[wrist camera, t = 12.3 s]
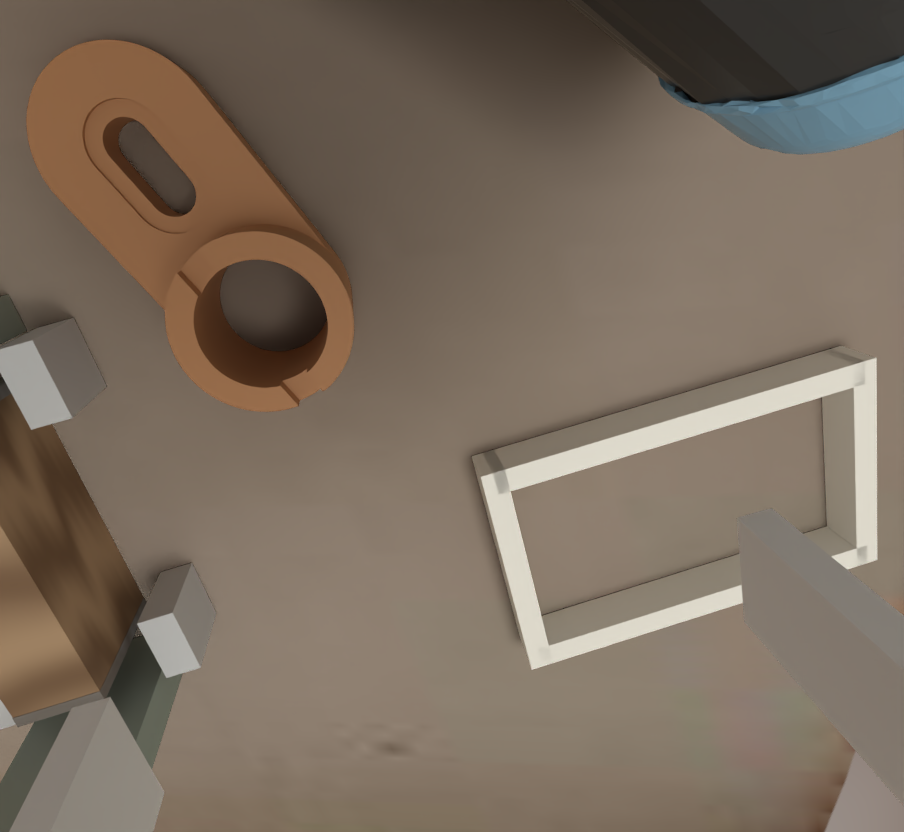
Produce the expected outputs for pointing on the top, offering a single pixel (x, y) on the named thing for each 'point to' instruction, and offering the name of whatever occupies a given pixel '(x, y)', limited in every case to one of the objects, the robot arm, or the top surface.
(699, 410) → the frame
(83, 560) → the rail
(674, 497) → the top surface
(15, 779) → the green fixture with posts
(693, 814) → the top surface
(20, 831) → the robot arm
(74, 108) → the bracket
